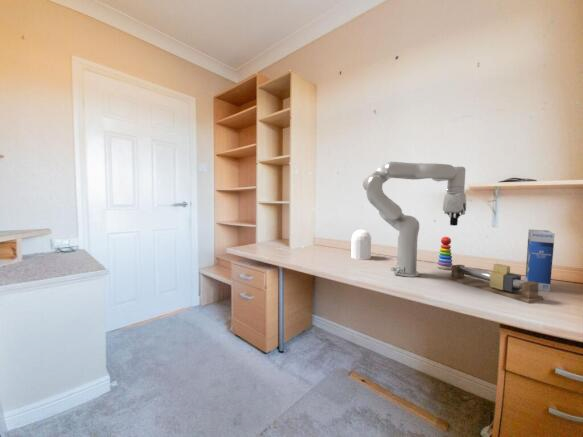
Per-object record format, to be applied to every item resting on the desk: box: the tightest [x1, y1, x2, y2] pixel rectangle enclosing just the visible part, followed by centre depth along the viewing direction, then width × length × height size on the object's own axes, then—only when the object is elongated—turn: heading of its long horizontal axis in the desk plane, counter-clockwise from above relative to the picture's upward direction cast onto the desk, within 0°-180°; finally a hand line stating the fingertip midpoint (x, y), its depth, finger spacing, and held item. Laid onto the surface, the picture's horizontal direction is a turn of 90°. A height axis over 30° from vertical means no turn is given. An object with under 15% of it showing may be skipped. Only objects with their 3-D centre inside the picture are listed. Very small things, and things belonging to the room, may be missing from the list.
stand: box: [446, 264, 544, 304], centre depth 113 cm, size 33×10×7 cm, turn 22°
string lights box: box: [524, 229, 556, 293], centre depth 114 cm, size 13×8×26 cm, turn 141°
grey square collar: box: [503, 273, 522, 292], centre depth 105 cm, size 3×6×6 cm, turn 112°
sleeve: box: [489, 263, 514, 290], centre depth 109 cm, size 5×7×10 cm
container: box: [350, 229, 372, 261], centre depth 174 cm, size 14×13×20 cm
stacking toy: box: [436, 236, 453, 271], centre depth 146 cm, size 8×8×19 cm
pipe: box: [458, 266, 526, 291], centre depth 113 cm, size 30×4×4 cm, turn 22°
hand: (453, 225), depth 132 cm, fingers closed
